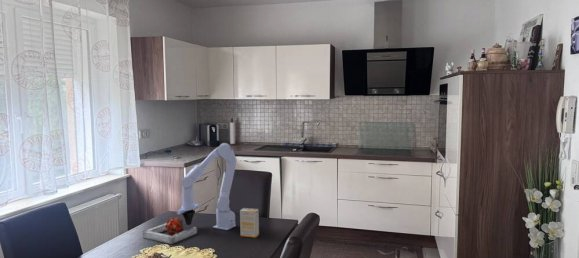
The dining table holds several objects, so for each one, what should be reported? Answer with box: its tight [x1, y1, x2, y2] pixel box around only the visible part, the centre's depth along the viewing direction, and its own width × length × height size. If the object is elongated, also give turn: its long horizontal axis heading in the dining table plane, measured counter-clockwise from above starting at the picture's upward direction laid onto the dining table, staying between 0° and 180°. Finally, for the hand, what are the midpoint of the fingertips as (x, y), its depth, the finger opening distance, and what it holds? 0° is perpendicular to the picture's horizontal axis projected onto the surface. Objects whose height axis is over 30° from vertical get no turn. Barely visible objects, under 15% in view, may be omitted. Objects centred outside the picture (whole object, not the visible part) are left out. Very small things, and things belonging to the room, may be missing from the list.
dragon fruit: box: [165, 217, 185, 236], centre depth 192 cm, size 8×8×12 cm
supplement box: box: [239, 207, 260, 239], centre depth 189 cm, size 8×5×13 cm, turn 71°
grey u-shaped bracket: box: [142, 222, 198, 245], centre depth 190 cm, size 19×17×3 cm
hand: (188, 224), depth 201 cm, fingers closed
